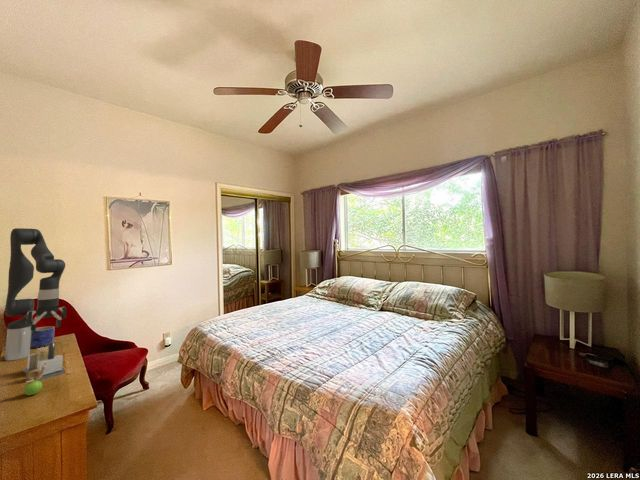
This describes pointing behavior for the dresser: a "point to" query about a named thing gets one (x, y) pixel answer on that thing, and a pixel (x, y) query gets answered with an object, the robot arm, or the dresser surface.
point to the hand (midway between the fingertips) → (46, 329)
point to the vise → (32, 367)
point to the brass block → (41, 354)
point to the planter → (42, 336)
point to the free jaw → (51, 361)
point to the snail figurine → (34, 381)
